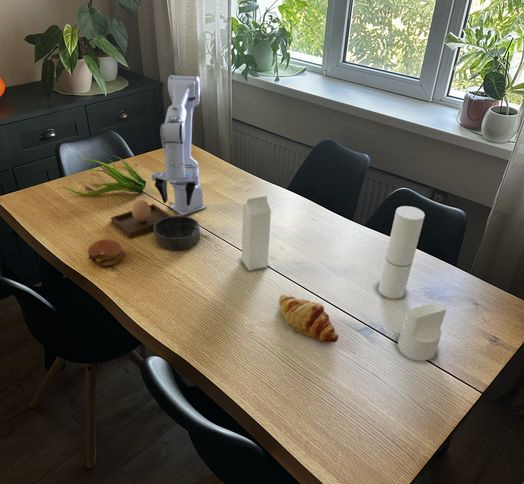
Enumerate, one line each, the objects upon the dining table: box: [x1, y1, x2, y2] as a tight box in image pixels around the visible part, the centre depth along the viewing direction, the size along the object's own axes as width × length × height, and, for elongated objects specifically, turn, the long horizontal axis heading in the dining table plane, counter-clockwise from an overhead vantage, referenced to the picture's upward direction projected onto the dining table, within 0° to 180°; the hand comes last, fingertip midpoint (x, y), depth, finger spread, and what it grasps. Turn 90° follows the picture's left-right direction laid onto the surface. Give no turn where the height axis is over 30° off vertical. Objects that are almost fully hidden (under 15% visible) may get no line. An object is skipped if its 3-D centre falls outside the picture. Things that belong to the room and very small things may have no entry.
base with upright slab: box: [397, 301, 447, 362], centre depth 119 cm, size 9×9×12 cm
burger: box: [87, 238, 124, 267], centre depth 146 cm, size 10×9×5 cm
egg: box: [131, 199, 151, 222], centre depth 163 cm, size 6×6×8 cm
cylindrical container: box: [378, 205, 426, 299], centre depth 133 cm, size 7×7×25 cm
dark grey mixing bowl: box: [152, 215, 201, 251], centre depth 157 cm, size 14×14×4 cm
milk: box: [241, 195, 272, 271], centre depth 142 cm, size 6×6×22 cm
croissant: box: [278, 294, 339, 343], centre depth 126 cm, size 21×10×8 cm, turn 39°
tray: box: [110, 203, 172, 239], centre depth 165 cm, size 16×12×2 cm
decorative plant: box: [53, 155, 147, 196], centre depth 177 cm, size 18×30×15 cm, turn 70°
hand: (177, 202), depth 157 cm, fingers open, 7 cm apart
